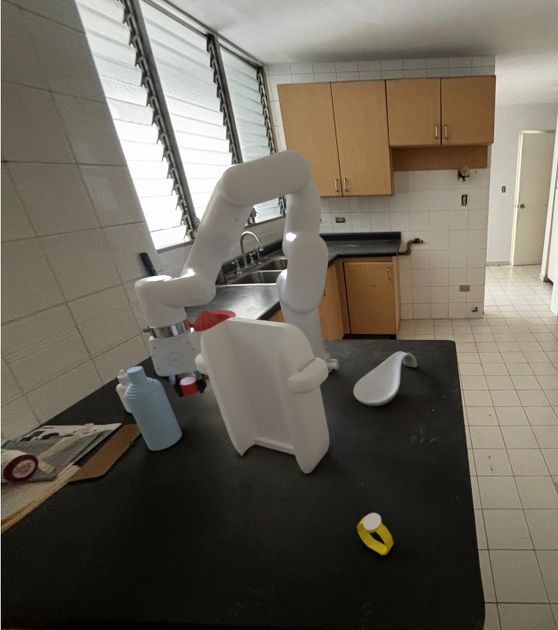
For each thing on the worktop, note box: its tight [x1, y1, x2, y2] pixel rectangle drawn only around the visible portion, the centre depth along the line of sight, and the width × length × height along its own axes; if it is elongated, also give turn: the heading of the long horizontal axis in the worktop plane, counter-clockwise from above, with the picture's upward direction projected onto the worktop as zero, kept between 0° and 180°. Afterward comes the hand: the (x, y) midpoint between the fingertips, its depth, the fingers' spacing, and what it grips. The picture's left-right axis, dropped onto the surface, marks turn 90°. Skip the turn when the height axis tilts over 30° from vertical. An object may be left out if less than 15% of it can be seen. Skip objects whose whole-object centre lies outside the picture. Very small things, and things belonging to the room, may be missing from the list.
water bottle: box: [124, 365, 183, 452], centre depth 73 cm, size 6×6×19 cm
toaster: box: [195, 316, 330, 475], centre depth 67 cm, size 27×11×30 cm, turn 71°
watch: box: [356, 512, 394, 556], centre depth 51 cm, size 6×3×6 cm, turn 59°
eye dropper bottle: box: [115, 369, 132, 414], centre depth 85 cm, size 4×6×12 cm
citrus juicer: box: [188, 309, 237, 380], centre depth 101 cm, size 16×17×20 cm
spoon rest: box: [353, 350, 418, 407], centre depth 91 cm, size 24×12×7 cm, turn 153°
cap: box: [179, 375, 199, 396], centre depth 85 cm, size 4×4×3 cm
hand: (192, 391), depth 86 cm, fingers closed on cap, 3 cm apart
